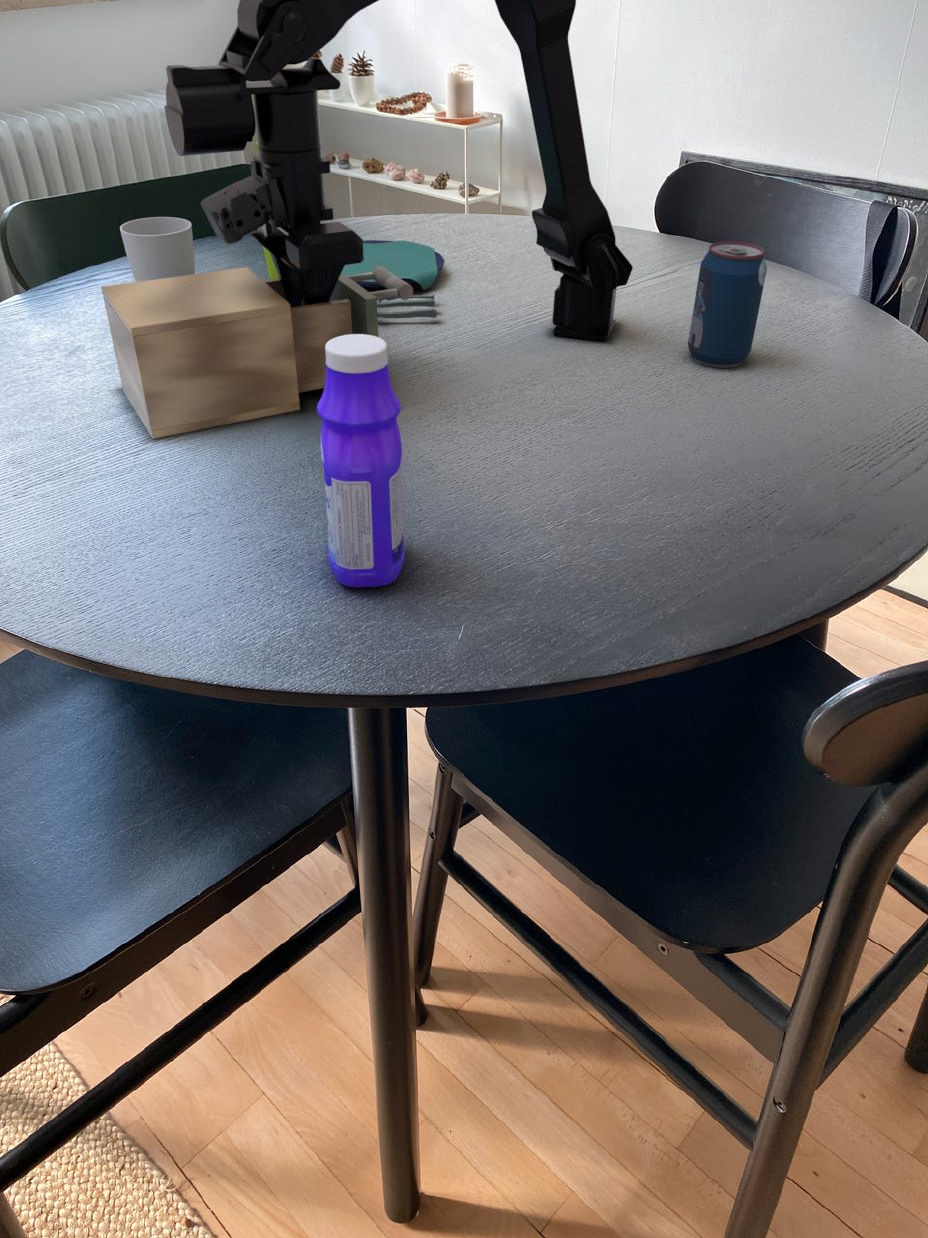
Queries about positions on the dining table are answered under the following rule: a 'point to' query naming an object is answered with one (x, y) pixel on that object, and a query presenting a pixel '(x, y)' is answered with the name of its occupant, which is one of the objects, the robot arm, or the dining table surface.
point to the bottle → (361, 462)
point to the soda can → (727, 303)
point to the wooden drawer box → (203, 350)
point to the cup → (159, 247)
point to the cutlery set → (400, 272)
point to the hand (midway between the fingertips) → (304, 315)
